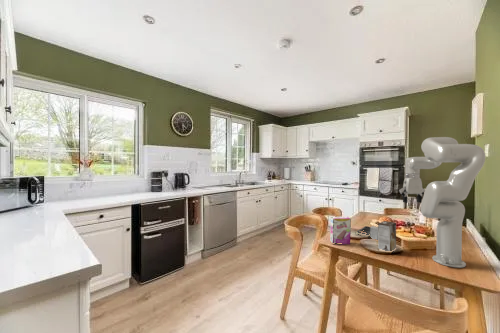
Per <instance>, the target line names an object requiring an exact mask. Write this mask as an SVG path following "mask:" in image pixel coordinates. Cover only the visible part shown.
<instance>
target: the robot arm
mask: <svg viewBox="0 0 500 333" xmlns="http://www.w3.org/2000/svg"><path fill="white" fill-rule="evenodd" d="M420 148H421V151H422V153H423V154H424V156H411V157H406V158H405V172H404V173H405V174H404V176H403V177H405V178H404V180H403V185H402V188H400V189H399V190H398V192H399V193H400V195H401V197H402V202H403V203H405V204H407V203H408V200H409V199H408V195H416V203H420V206H419V207H420V213H421V215H422V216H423V217H424V218H427V219H439V221H438V222H437V224H436V245H435V246H436V251H435V252H436V254H435V255H434V254H433V256H432V258H431V259H432V260H433V262H436V263H437V264H440V265H443V266H447V267H451V268H458V269H461V268H465V267H466V266H467V263H466V262H465V261H464V260H462V254H463V253H462V251H463V250H462V249H463V248H462V246H463V245H462V241H463V221H464V218H465V214H466V207H465V206H464V204H463V203H462V201H464V200H466V199H467V197H468V196H469V193H470V191H471V190H472V189H471V188H472V187H473V185H474V183H475V182H474V181H475V179H476V177H477V176H478V175H479V173H480V172H481V171H482V169H483V167H484V165H485V162H486V153H485V150H484V148H483V147H481V146H479V145H476V144H474V143H473V144H472V143H471V144H470V143H459V142H458V140H457V139H455V138H453V137H450V136H449V137H448V136H439V137H438V136H436V137H434V136H433V137H431V136H430V137H427V138H426V139H424V140H423V141H422V143H421V147H420ZM442 163H460V164H458V165H457V166H456V167H455V168H454V169H453V170H451V172H450V173H449V177H448V179H447V180H435V181H432V182H430V183H428V184H427V186H426V187H425V188H423V182H422V178H420V175H421V174H420V173H421V172H420V171H421V170H433V169H435V168H438V167H440V166H441V165H442Z"/></svg>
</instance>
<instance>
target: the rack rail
mask: <svg viewBox="0 0 500 333" xmlns="http://www.w3.org/2000/svg"><path fill="white" fill-rule="evenodd" d="M370 227H371V226H363V227H362V228H360V229H358V230H357V232H358V233H361V232H359V231H363V230H364V231H363V232H366V233H367V234H366V235H369V234H370ZM362 234H365V233H362Z"/></svg>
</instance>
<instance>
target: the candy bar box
mask: <svg viewBox="0 0 500 333" xmlns="http://www.w3.org/2000/svg"><path fill="white" fill-rule="evenodd" d="M351 222H352V218H350V217H349V216H330V227H329V228H330V232H329V236H330V237H329V241H331V242H332V243H342V244H341V245H351V233H352V232H351V228H352V227H351V225H352V223H351ZM331 242H330V243H331ZM332 243H331V244H332Z"/></svg>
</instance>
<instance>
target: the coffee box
mask: <svg viewBox="0 0 500 333" xmlns="http://www.w3.org/2000/svg"><path fill="white" fill-rule="evenodd" d="M377 224H378V226H377V227H378V240H377V241H378V243H377V244H378V245H377V246H378V248H379V249H382V250H385V251H392V250H394V249H395V248H396V249H397V223H396V222H395V221H393V222H392V221H388V220H387V221H386V220H384V221H381V222H378V223H377ZM378 248H377V249H378Z"/></svg>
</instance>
